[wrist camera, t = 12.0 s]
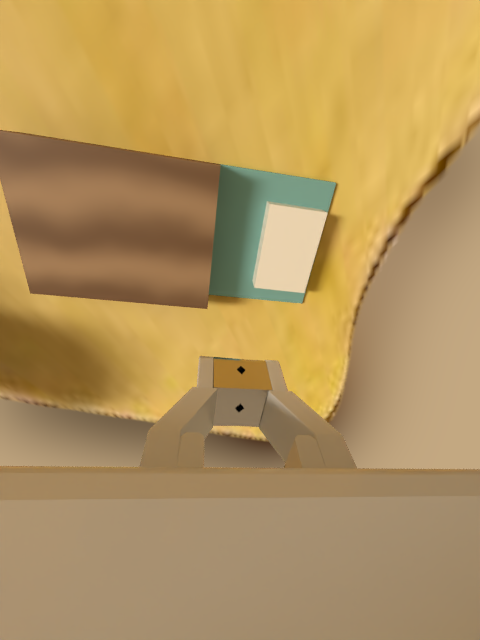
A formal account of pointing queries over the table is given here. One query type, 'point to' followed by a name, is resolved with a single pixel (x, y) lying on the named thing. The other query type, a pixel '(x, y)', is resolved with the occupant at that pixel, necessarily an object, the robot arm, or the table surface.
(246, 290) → the mat
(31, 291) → the deck
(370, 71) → the table surface
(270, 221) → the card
